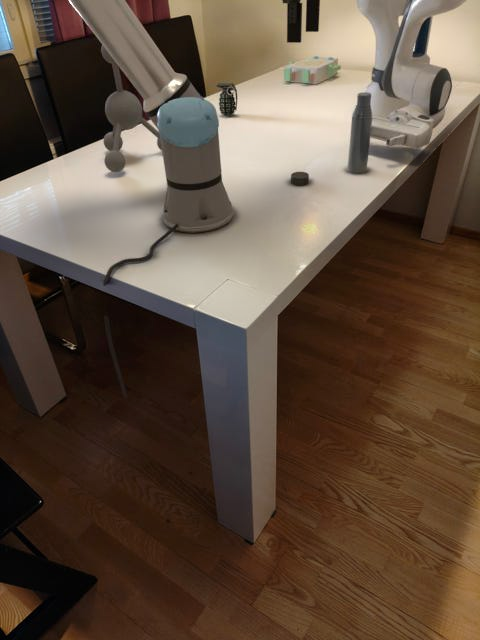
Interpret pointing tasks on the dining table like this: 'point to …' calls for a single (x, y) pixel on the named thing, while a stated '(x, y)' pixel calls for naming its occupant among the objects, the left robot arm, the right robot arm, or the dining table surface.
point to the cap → (299, 178)
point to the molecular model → (121, 119)
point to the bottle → (360, 134)
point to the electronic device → (422, 42)
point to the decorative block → (311, 70)
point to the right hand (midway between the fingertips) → (372, 138)
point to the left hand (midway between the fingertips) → (303, 36)
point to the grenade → (227, 99)
